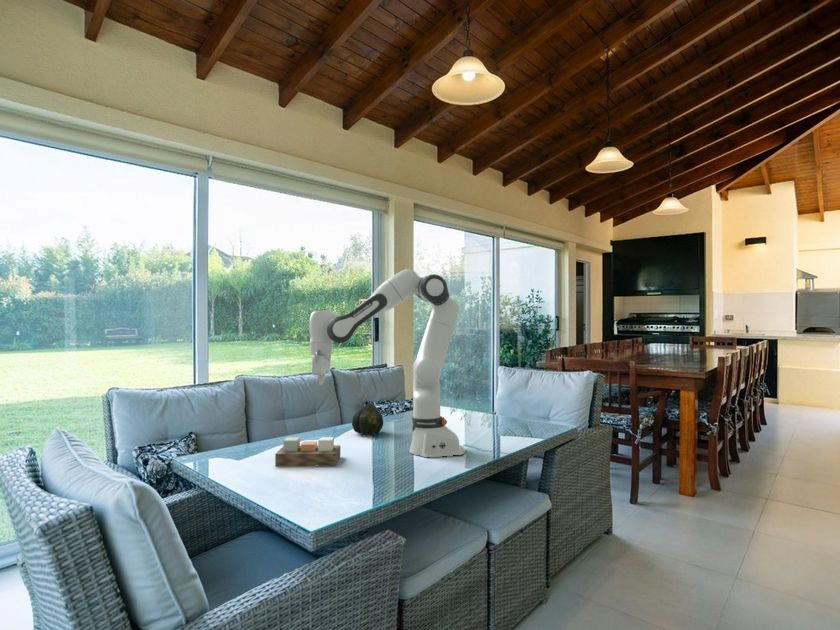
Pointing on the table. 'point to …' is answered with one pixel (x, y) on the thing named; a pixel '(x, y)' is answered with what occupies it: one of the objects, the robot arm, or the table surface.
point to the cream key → (326, 444)
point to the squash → (367, 420)
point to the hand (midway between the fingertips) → (321, 384)
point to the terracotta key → (309, 446)
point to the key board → (308, 457)
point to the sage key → (291, 444)
